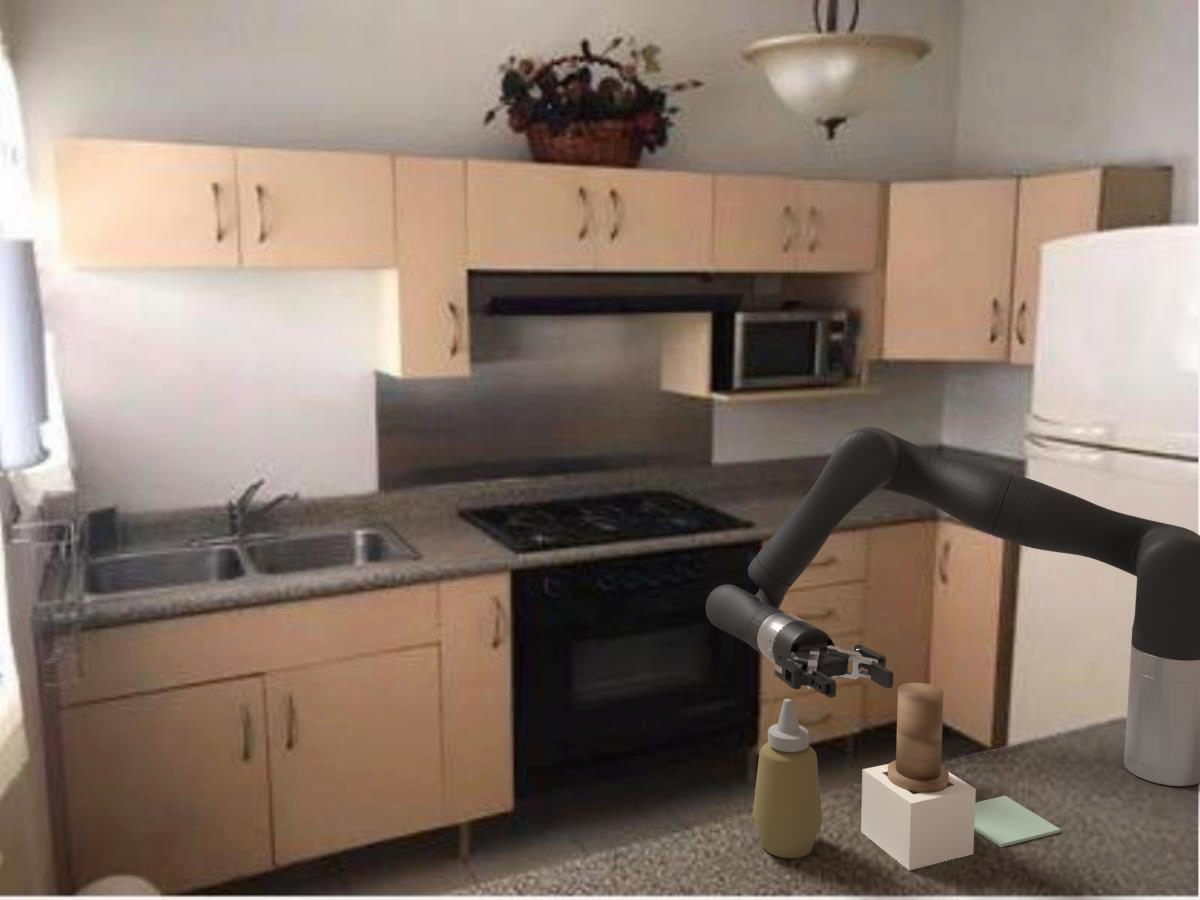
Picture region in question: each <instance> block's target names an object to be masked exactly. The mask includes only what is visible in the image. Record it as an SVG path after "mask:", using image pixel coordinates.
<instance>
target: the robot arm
mask: <svg viewBox="0 0 1200 900" xmlns="http://www.w3.org/2000/svg"><path fill="white" fill-rule="evenodd" d="M834 447H835V448H834V450H833V451H832V453H831V455H830V456H829V459H828V460H827V462H826V464H825V465H824V468H823V470H822V471H821V473H820V475H819V477H818V478H817V480H816V481H815V483H814V485H812V488H811V489H810V490H809V491H808V493H807V495H805V497H804V498H803V500H802V501H801V503H799V505H798V506H797V507H796V509H794V510H793V512H792V513H791V514H790V515H789V517H787V519H786V520H785V521H784V522H783V523H782V524H781V525H780V527H779V528H778V529H777V531H776V532H775V533H774V534H772V536H771V537H770V538H769V540H767V542H766V543H765V544H764V546H763V547H762V548H761V549H760V550H759V552H758V553H757V555H755V557H754V558H753V559H752V561H750V564H749V565H748V567H747V574H748V577H749V578H750V580H751V581H752V582H753V583H754V585H755V586H757V588H758V589H759V590H758V592H757V593H756V594H752V593H751V592H748V591H746V590H744V589H742V588H740V587H738V586H736V585H734V584H723V585H719V586H717V587H715V588H714V589H713V590H712V591H711V592H710V594H709V595H708V596H707V599H706V603H705V612H706V616H707V619H708V620H709V622H710V623H711V625H713V626H714V627H716V628H717V629H720V630H721V631H723V632H726V633H727V634H730V635H731V636H733V637H736V638H738V639H739V640H741V641H742V642H745V643H746V644H747V645H749V646H750V647H751V648H752V649H754V650H755V651H757V652H758V653H760V654H761V655H763V656H765V657H766V659H767V660H768V661H769V662H771V663H772V664H773V665H774V676H776V677H777V678H778V679H779V680H781V681H782V682H784V683H785V684H786V685H788V687H790V688H791V689H794V690H800V689H802V686H805V687H806V688H807V689H808V690H815V691H817V692H819V693H820V694H823V695H824V696H825V697H828V698H835V697H836V696H837V683H836V681H835V679H833V678H837V677H841V678H846V679H851V680H858V679H859V678H864V679H870V680H871V681H872V682H874V683H876V684H877V685H879V686H881V687H883V688H884V689H892V688H893V685H894V672H893V671H891V670H889V669H888V668H887V667H886V666H887V656H885V655H883V654H881V653H879V652H877V651H875V650H873V649H870V648H869V647H866V646H864V645H862V644H855V645H854V646H853V647H854V648H853V650H847V649H844V648H841V647H840V646H836V644H835V643H834V641H833V640H832V638H831V636H830V635H829V634H828V633H827V632H826V631H824V630H822V629H821V628H819V627H817V626H815V625H813V624H812V623H810V622H808V621H806V620H804V619H802V618H800V617H798V616H796V615H793V614H789V613H787V612H786V611H784V610H781V609H780V607H781V605H782V603H783V602H784V599H785V596H786V594H787V593H788V591H789V589H790V588H791V587H792V586H793V585H794V583H796V581H797V580H798V579H799V578H800V576H801V575H802V574H803V572H805V570H806V569H807V568H808V567H809V566H810V564H811V563H812V561H813V560H814V559H815V557H816V556H817V555H818V553H819V552H820V551H821V549H822V548H823V546H824V545H825V543H826V542H827V540H828V539H829V537H830V536H831V534H832V533H833V531H834V530H835V529H836V527H837V526H838V525H839V524H840V523H841V522H842V520H844V518H845V517H846V516H847V515H848V514H849V513H850V512H851V511H852V510H853V509H854V508H855V507H856V506H858V505H859V504H860V503H861V502H862V501H864V499H866V498H867V497H868V496H869V495H871V494H872V493H873V492H875V490H878V489H881V490H884V491H890V492H893V493H897V494H900V495H904V496H908V497H911V498H915V499H917V500H920V501H923V502H926V503H928V504H929V505H932V506H933V507H935V508H936V509H938V510H940V511H942V512H945V513H946V514H948V515H949V516H951V517H952V518H954V519H956V520H958V521H960V522H962V523H964V524H966V525H968V526H969V527H972V528H974V529H976V530H978V531H980V532H983V533H985V534H988V535H991V536H993V537H997V538H998V539H1002V540H1004V541H1008V542H1011V543H1012V544H1016V545H1019V546H1022V547H1026V548H1030V549H1035V550H1041V551H1045V552H1053V553H1059V554H1069V555H1075V556H1080V557H1085V558H1090V559H1092V560H1096V561H1098V562H1101V563H1104V564H1107V565H1109V566H1111V567H1114V568H1117V569H1119V570H1121V571H1123V572H1126V573H1127V574H1129V575H1132V576H1134V577H1136V588H1135V601H1134V602H1135V604H1134V605H1135V606H1134V616H1133V617H1134V618H1133V624H1132V628H1131V642H1130V643H1131V645H1130V647H1131V648H1130V658H1129V659H1130V662H1129V680H1128V693H1127V694H1128V695H1127V696H1128V697H1127V710H1126V726H1125V739H1124V741H1125V742H1124V754H1123V755H1124V756H1123V757H1124V758H1123V764H1124V767H1125V769H1126V770H1127V771H1128V772H1130V773H1131V774H1133V775H1135V776H1136V777H1138V778H1141V779H1142V780H1146V781H1148V782H1152V783H1155V784H1160V785H1165V786H1171V787H1173V786H1174V787H1187V786H1188V787H1189V786H1194V785H1197V784H1200V534H1199V533H1197V532H1195V531H1193V530H1191V529H1189V528H1186V527H1183V526H1179V525H1175V524H1169V523H1165V522H1160V521H1155V520H1152V519H1147V518H1142V517H1139V516H1135V515H1130V514H1126V513H1122V512H1119V511H1116V510H1113V509H1109V508H1106V507H1104V506H1101V505H1099V504H1096V503H1094V502H1092V501H1089V500H1087V499H1085V498H1081V497H1079V496H1077V495H1075V494H1072V493H1069V492H1067V491H1064V490H1062V489H1059V488H1056V487H1054V486H1051V485H1048V484H1045V483H1043V482H1040V481H1037V480H1034V479H1031V478H1029V477H1025V476H1022V475H1020V474H1016V473H1013V472H1010V471H1006V470H1002V469H999V468H996V467H992V466H989V465H984V464H980V463H976V462H974V461H973V462H972V461H968V460H965V459H960V458H956V457H955V458H954V457H950V456H946V455H942V454H939V453H937V452H934V451H931V450H929V449H926V448H924V447H922V446H919V445H917V444H915V443H913V442H911V441H907V440H906V439H903V438H901V437H899V436H897V435H895V434H893V433H891V432H890V431H889V432H888V431H886V430H885V429H882V428H880V427H874V426H865V427H861V428H857V429H854V430H851V431H849V432H847V433H846V434H845V435H843V436H842V437H841V438H840V439H839V440H838V442H837V443H836V444H835V446H834ZM850 661H851V662H852V671H848V670H849V662H850ZM862 668H863V669H864V670H862ZM866 670H867V671H866Z"/></svg>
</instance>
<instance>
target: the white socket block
mask: <svg viewBox="0 0 1200 900" xmlns="http://www.w3.org/2000/svg"><path fill="white" fill-rule="evenodd" d="M889 764H890V763H887V764H881V765H877V766H872V767H867V768H862V770H861V771H862V773H861V774H862V775H861V776H862V777H861V779H862V781H861V813H860V815H861V817H860V818H861V819H860V824H861V825H860V832H861V833H862V834H863V835H864V836H865V835H866V836H865V837H866V838H868V839H869V840H871V841H872V842H873V843H874V844H875V845H877V846H878V847H879V848H880V849H882V850H883V851H884V852H885V853H886V854H888V855H889V856H890V857H891V858H892V859H894V860H895V861H896V860H897V861H896V862H897V863H899V864H900V865H902V867H904V868H905V869H906V870H908V871H912V870H916V869H921V868H924V867H928V866H932V865H936V864H941V863H945V862H948V860H949V861H952V860H956V859H960V858H964V857H968V856H971V855H974V847H975V839H974V838H975V829H974V822H975V803H976V794H977V793H976V792H977V789H976V788H975V787H973V786H972V785H970V784H969V783H967V782H966V781H964V780H962V779H961V778H959V777H958V776H956V775H954V774H953V773H951V772H950V771H948V773H949V784H948V786H947V788H945V789H944V790H942V791H938V792H933V793H918V794H912V793H911V792H909V791H908V790H905V789H902V788H900V787H898V786H896V785H894V784H893V783H892V782H891V781H890V780H889V779H888V765H889ZM955 858H956V859H955ZM951 859H952V860H951ZM944 861H945V862H944Z"/></svg>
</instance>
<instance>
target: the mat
mask: <svg viewBox="0 0 1200 900" xmlns="http://www.w3.org/2000/svg"><path fill="white" fill-rule="evenodd" d="M974 831H976V832H977V833H979V834H981V835H982V836H983V837H985V838H986V839H988V840H989V841H990V842H992V843H993V844H995V845H997V846H998V847H1000V848H1004V847H1008V846H1011V845H1012V846H1013V845H1015V844H1020V843H1023V842H1027V841H1031V840H1035V839H1039V838H1043V837H1047V836H1052V835H1055V834H1060V833H1061V828H1059V827H1057V826H1056V825H1054V824H1053V823H1051V822H1049V821H1047V820H1046V819H1044V818H1043V817H1041V816H1039V815H1038V814H1036V813H1034V812H1033V811H1031V810H1030V809H1028V808H1026V807H1025V806H1023V805H1022V804H1020V803H1018V802H1016V801H1015V800H1014V799H1011V798H1010V797H1008V796H1007V795H1002V796H998V797H993V798H989V799H985V800H980V801H977V802H976V801H975V822H974Z"/></svg>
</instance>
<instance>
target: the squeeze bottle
mask: <svg viewBox="0 0 1200 900" xmlns="http://www.w3.org/2000/svg"><path fill="white" fill-rule="evenodd" d="M798 718H799V717H798V715H797V710H796V704H795V700H794V699H792V698H785V699H783V701H782V705H781V709H780V713H779V718H778V721H777V723H774V724H773V725H770V726H769V728H768V729H767V742H765V743H764V744H763V745H762V746H761V748H760V749H759V755H758V764H757V772H756V773H757V774H756V782H755V788H754V789H755V790H754V799H753V807H752V819H753V821H754V825H755V828H756V831H757V834H758V836H759V837H758V838H759V839H760V842H761V846H762V847H763V849H764V850H765V851H766V852H767V853H769V854H771V855H773V856H774V857H780V858H783V859H799V858H803V857H805V856H807V855H808V854H810V853H811V851H812V850H813V847H814V845H815V842H816V839H817V837H818V834H819V831H820V829H821V826H822V823H823V811H822V799H821V789H820V780H819V779H820V777H819V767H818V766H819V765H818V758H817V757H818V756H817V753H816V751H815V749H814V748H813V747H812V746H811V745H810V743H809V742H810V741H809V740H810V736H809V735H810V733H809V730H808V729H807V728H805V727H804V726H803V725H801V724H799V719H798Z"/></svg>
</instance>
